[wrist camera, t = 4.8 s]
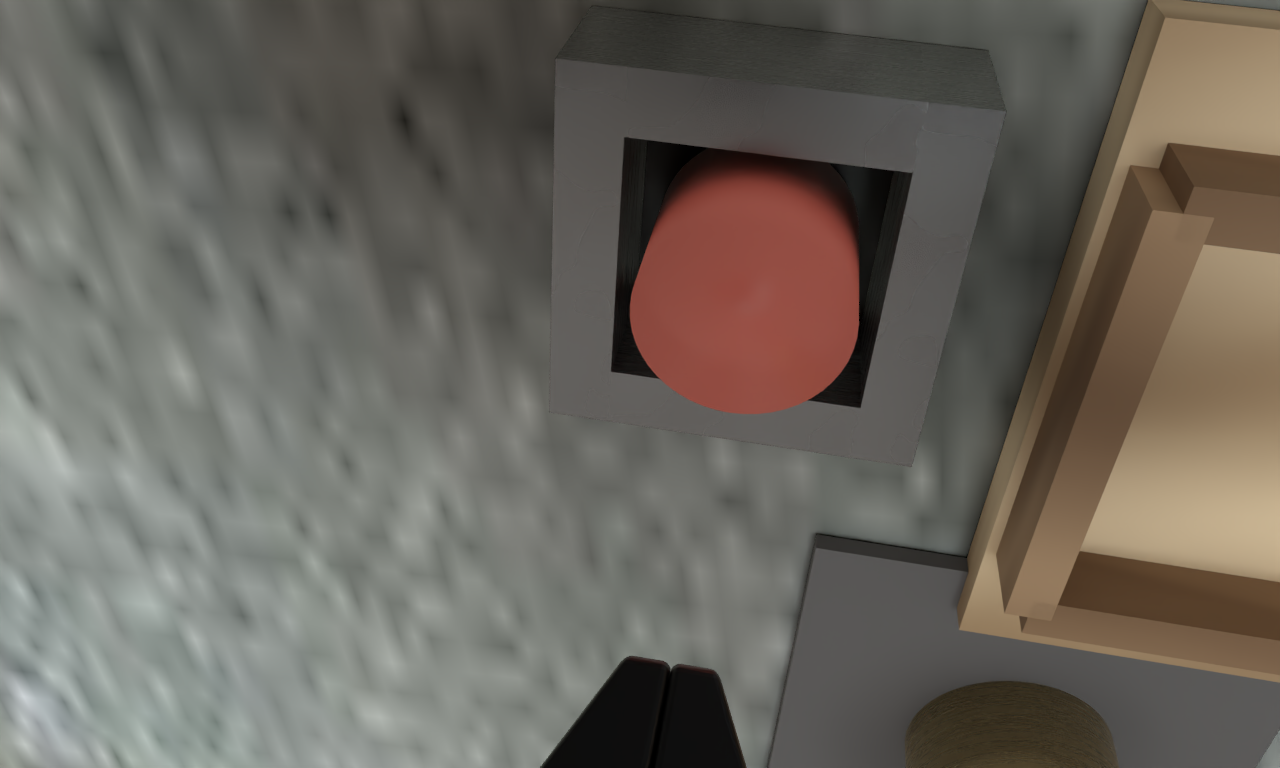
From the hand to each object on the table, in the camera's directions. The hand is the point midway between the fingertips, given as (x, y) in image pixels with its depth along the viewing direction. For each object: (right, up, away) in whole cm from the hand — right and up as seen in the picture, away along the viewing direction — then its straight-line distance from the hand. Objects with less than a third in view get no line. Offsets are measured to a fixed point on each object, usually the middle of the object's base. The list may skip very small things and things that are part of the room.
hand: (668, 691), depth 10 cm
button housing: (+2, +6, +8) cm, 10 cm away
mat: (+8, -5, +15) cm, 17 cm away
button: (+2, +5, +8) cm, 10 cm away
